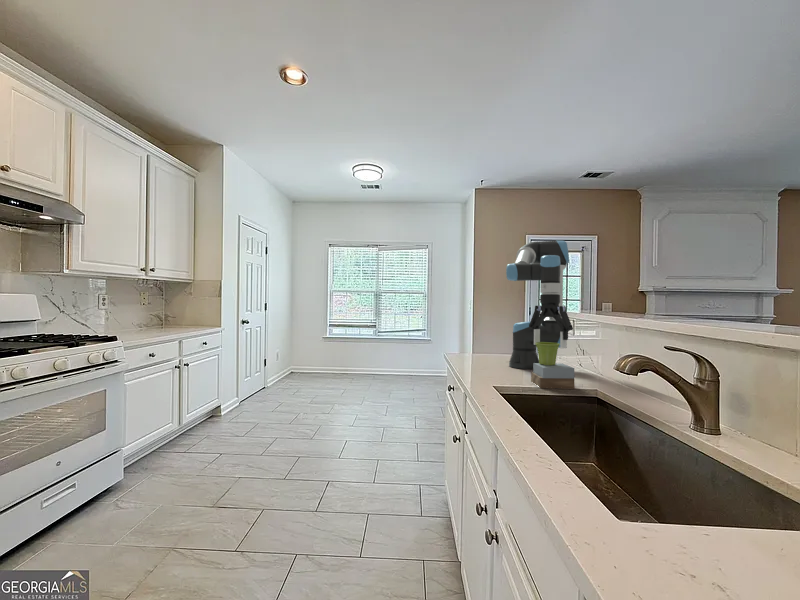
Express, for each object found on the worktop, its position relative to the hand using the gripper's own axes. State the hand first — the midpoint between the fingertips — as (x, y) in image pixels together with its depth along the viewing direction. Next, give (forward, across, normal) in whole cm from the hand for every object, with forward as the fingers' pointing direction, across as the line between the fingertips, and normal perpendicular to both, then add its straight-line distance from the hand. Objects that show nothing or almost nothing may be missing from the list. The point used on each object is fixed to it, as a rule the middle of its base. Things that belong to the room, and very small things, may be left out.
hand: (549, 346), depth 167 cm
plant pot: (+8, -1, 0) cm, 8 cm away
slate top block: (+11, +2, 0) cm, 12 cm away
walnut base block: (+16, +1, 0) cm, 16 cm away
